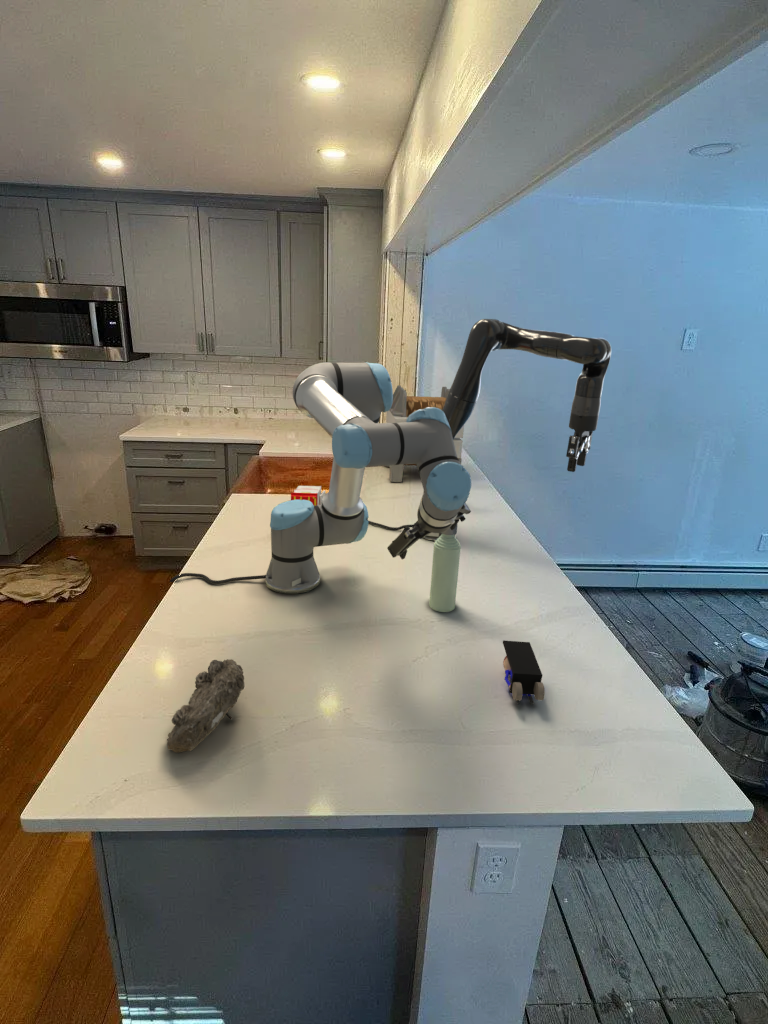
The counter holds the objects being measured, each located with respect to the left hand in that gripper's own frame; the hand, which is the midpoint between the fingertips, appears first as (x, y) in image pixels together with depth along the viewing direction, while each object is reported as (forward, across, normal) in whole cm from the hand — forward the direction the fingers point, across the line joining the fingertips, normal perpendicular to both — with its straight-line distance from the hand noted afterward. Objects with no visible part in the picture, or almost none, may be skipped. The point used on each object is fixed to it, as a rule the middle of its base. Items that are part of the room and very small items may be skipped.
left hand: (425, 539), depth 130 cm
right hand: (+24, +55, 0) cm, 60 cm away
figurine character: (0, -1, -38) cm, 38 cm away
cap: (+13, +11, +2) cm, 17 cm away
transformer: (+129, +48, +52) cm, 147 cm away
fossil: (-8, -56, -10) cm, 58 cm away
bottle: (+27, +1, -13) cm, 30 cm away
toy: (+77, -14, +43) cm, 89 cm away
